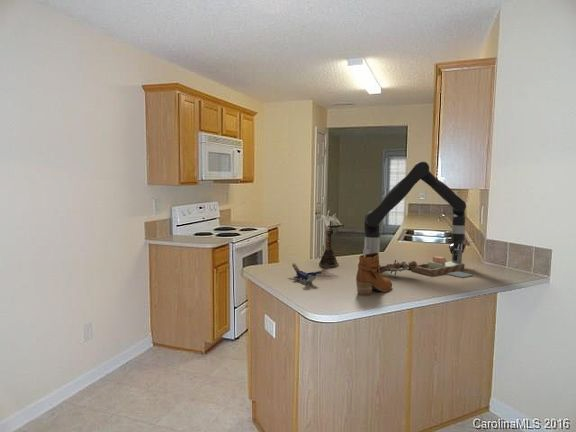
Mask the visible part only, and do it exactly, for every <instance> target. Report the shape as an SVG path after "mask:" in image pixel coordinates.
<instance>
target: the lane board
mask: <svg viewBox="0 0 576 432" xmlns="http://www.w3.org/2000/svg"><path fill="white" fill-rule="evenodd" d="M445 262H448V261H447V260H445ZM464 264H465V263H463V264H460V265H454V266H448V267H442V268H436V269H434V268H429V267H428V262H425V263H419V264H418V263H417V266H416V267H415V268H413V269H412V270H410V272H414V273H417V274H422V275H426V276H430V277H432V276H438V275H444V274H447V273H451V272H457V271H459V272H462V271H465V267H466V265H464Z"/></svg>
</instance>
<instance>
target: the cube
mask: <svg viewBox="0 0 576 432" xmlns="http://www.w3.org/2000/svg"><path fill="white" fill-rule="evenodd" d="M445 261H447V260H446V257H444V256H440V255H438V256H437V255H436V256H432V262H434V263H439V264H442V266H445Z"/></svg>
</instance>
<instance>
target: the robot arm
mask: <svg viewBox="0 0 576 432" xmlns="http://www.w3.org/2000/svg"><path fill="white" fill-rule="evenodd" d="M420 180H421V181H423V183H425V184H427V185H428V186H429V187H430V188H431V189H432V190H433V191H434V192H436V194H437V195H439V196H440V197H441V198H442V199H443V200H444V201H445V202H447V203H448V204H449V206H451V208H452V225H451V233H450V234H451V235H450V239H451V241H452V242H451V244H449V245H448V249H449V252H450V254H451V255H452V254H453V260H454V261H457V252H458V250H462V254H464V253H465V248H466V246H467V245H466V243H464V241H465V237H466V235H465V234H466V224H465V223H466V216H465V215H466V214H465V213H466V212H465V211H466V208H467V203H466V202H465V200H463V199H462V198H461V197H459V196H458V195H457V194H456V193H455V191H453V189H451V188H450V187H449V186H448V185H447V184H445V183H444V182H443V181H441V180H439V179H438V178H437V177H436V176H434V174H433V173H432V172H431V171H430V165H429V164H428V162H426V161H418V162H416V164H414V165H413V167H412V169H410V171H409V172H408V173H407V175H405V177H403V178H402V179H401V180H400V181H399V182H397V183H396V184H395V185H394V186H393V187H392V188H391V189H390V190H389V191H388V192H387V194H386V195H385V197H384V198H383V199H382V201H381V202H380V204H379V205H378V206H377V207H376V208H374V209H373V210H370V211H368V212H366V214H365V216H364V248H363V249H362V250H363V251H362V253H363V254H362V255H364V257H365V256H366V254H371V253H378V255H379V256H380V239H381V237H380V236H381V234H380V233H381V232H380V224H381V222H382V221H383V220H384V218H385V217H386V216H387V215H388V214H389V213H390V212H391V211H392V210H393V209H394V208H395V207H396V206H398V204H400V202H402V200H404V198H405V197H406V196H407V195H408V194H409V193H410V191H411V190H412V189H413V188H414V186H416V184H417V183H418V182H419V181H420ZM455 249H456V250H455ZM452 251H453V252H452ZM455 251H456V253H455Z"/></svg>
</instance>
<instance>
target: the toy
mask: <svg viewBox="0 0 576 432" xmlns="http://www.w3.org/2000/svg"><path fill="white" fill-rule="evenodd" d="M291 266H292V268H293V269H294V271H295V273H296V275H295V276H293V279H297V280H298V281H299V282H302V283H304V284H311V283H313V281H315V279H316V278H317V277H318V276H319V275H321V274H322V271H315V272H314V271H312V272H306V271H303V270H300V269H299V267H298V265H297V264H296V262H295V263H294V262H293V263H292V264H291Z"/></svg>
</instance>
